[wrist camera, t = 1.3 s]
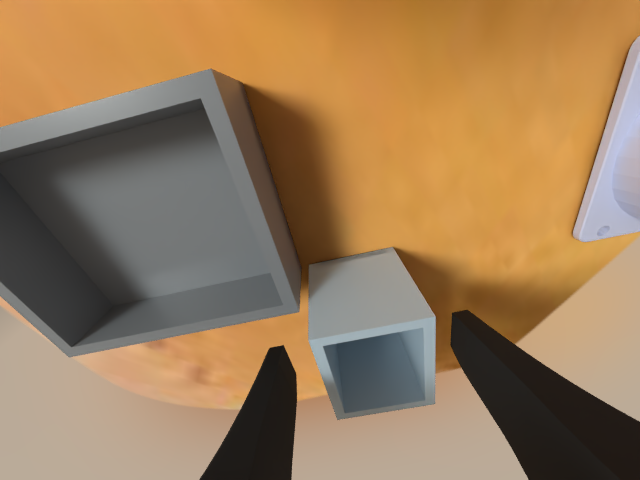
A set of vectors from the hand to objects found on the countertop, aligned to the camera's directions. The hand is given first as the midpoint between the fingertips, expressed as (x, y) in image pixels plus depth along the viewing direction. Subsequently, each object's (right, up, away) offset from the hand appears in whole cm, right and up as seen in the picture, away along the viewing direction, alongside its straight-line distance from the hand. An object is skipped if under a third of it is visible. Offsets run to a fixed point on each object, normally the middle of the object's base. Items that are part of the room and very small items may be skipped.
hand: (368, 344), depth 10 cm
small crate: (0, +1, +3) cm, 3 cm away
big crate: (-9, +5, 0) cm, 10 cm away
